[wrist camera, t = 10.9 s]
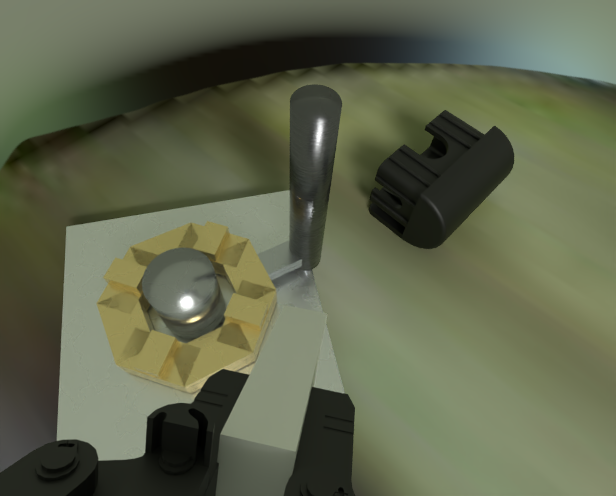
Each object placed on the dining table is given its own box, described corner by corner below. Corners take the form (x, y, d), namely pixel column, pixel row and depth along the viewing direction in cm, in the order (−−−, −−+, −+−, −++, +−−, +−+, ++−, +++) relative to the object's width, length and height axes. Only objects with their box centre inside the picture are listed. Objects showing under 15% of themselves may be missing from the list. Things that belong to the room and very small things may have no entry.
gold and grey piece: (141, 418, 27) (0, 349, 14) (95, 277, 31) (-44, 123, 18) (355, 310, 31) (404, 177, 18) (286, 199, 35) (285, 28, 22)
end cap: (427, 266, 35) (456, 221, 29) (362, 214, 37) (376, 162, 31) (492, 197, 39) (529, 145, 33) (430, 154, 41) (453, 98, 35)
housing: (290, 200, 38) (290, 149, 32) (345, 411, 29) (360, 392, 23) (74, 236, 35) (33, 187, 29) (66, 480, 26) (6, 477, 21)
